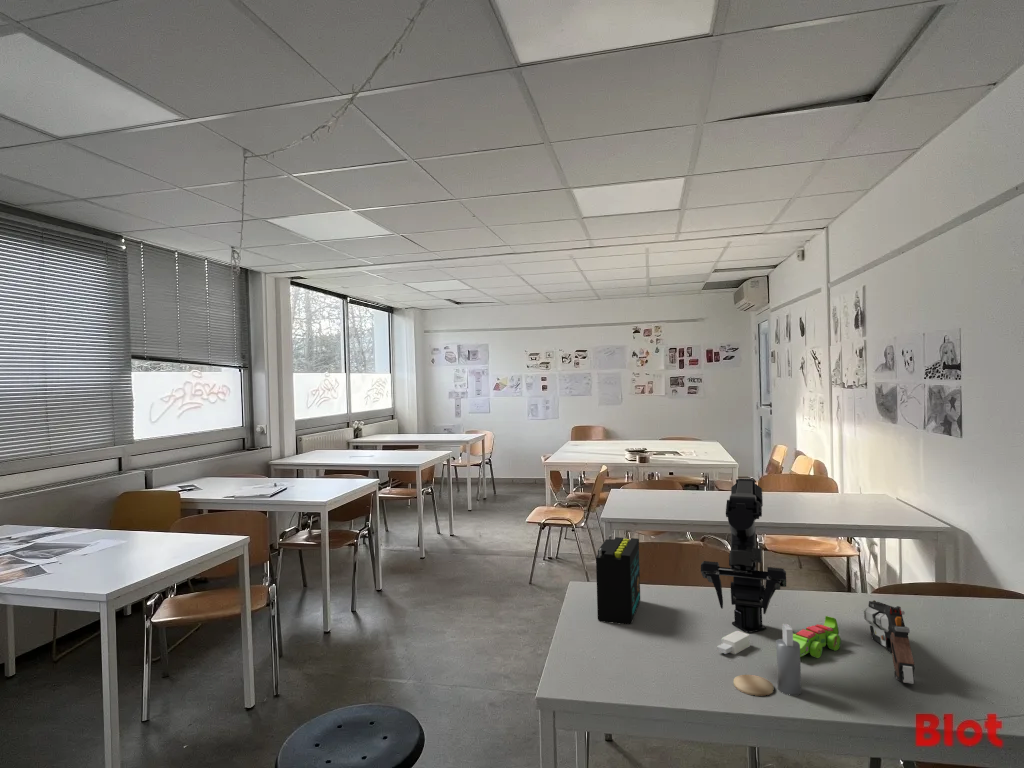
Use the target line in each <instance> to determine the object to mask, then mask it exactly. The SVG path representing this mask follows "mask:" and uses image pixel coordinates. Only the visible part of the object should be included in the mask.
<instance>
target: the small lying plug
mask: <svg viewBox="0 0 1024 768" xmlns="http://www.w3.org/2000/svg"><path fill="white" fill-rule="evenodd" d="M750 646H751V635H750V634H749V633H747V632H746V633H745V632H743V631H739V630H735V631H733V632H731V633H729V634H727V635H725V636H723V637H721V644H718V645H717V646H716V651H717V652H719V653H723V654H725V655H727V654H728V653H730V654H732V655H737V654H738V653H740V652H742V651H744V650H746V649H747V648H749V647H750Z"/></svg>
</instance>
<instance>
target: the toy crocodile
mask: <svg viewBox="0 0 1024 768" xmlns="http://www.w3.org/2000/svg"><path fill="white" fill-rule="evenodd" d="M793 640H794V641H796V642H798V643H799V644H800V658H801V657H804V656H806V655H807V654H809V653H810V656H811V657H812V658H813V657H814V658H816V659H819V658H821V656H822V655H823V648H824V647H826V645H827V648H829V650H832V651H835V652H836V651H838V650H839V649H840V648H841V644H842V641H841V637H840V635H839V625H838V622H837V619H836V618H835V617H832V616H828V615H825V618H824V623H823V624H815V625H811V626H810V625H809V626H807V627H806V628H805V629H803V628H802V629H801V630H799V631H797V632H796V633H793Z"/></svg>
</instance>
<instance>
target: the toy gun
mask: <svg viewBox="0 0 1024 768" xmlns="http://www.w3.org/2000/svg"><path fill="white" fill-rule="evenodd" d="M905 614H906V613H905V611H904V610H902V608H901V606H898V605H897V606H896V607H895V606H892V605H889V604H886V603H883V602H880V601H876V600H869V601H868V606H867V608H865V609H864V610H863V618H864V620H865V621H866V622H867V624H869V630H870V635H871V638H873V639H872V640H873V641H875V642H877V643H879V644H880V645H881V646H883V647H885V648H886V651H887V652H888V653H889V654H892V662H893V663H892V664H893V667H894V671H893V675H894V678H895V679H897V680H898V681H899V682H902V683H906V684H916V682H915V660H914V656H913V652H912V648H911V643H910V638H909V633H910V628H909V627H908V626H906V625H905V621H904V617H903V615H905Z"/></svg>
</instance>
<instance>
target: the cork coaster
mask: <svg viewBox="0 0 1024 768" xmlns="http://www.w3.org/2000/svg"><path fill="white" fill-rule="evenodd" d="M733 686H734V687H735V689H736V690H738V691H740V692H741V693H743V694H746V695H749V696H753V695H755V696H754V697H766V695H767V696H769V695H772V694H773V693H774V691H773V690H774V689H775V688H774V685H773V683H772V682H771V681H770V680H769V679H767V678H765V677H763V676H758V675H754V674H753V675H752V674H741V675H737V676H735V677H734V678H733Z"/></svg>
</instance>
